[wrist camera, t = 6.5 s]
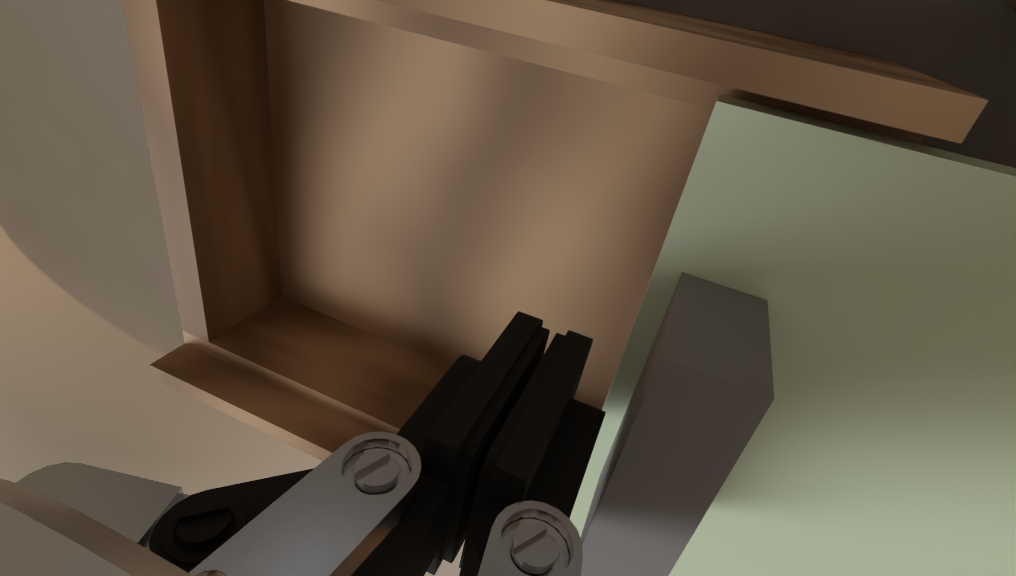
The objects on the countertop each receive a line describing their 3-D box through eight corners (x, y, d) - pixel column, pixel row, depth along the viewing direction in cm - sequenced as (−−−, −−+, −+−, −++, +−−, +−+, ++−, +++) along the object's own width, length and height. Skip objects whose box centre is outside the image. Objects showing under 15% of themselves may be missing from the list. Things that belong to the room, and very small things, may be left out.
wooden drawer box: (892, 61, 12) (989, 99, 7) (678, 470, 19) (656, 624, 15) (246, -81, 16) (36, -115, 11) (273, 301, 23) (152, 377, 19)
